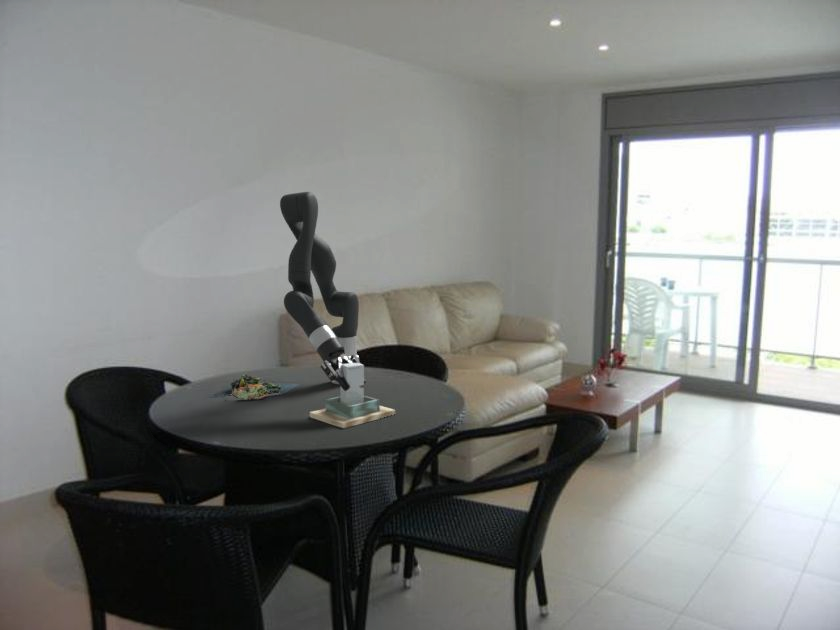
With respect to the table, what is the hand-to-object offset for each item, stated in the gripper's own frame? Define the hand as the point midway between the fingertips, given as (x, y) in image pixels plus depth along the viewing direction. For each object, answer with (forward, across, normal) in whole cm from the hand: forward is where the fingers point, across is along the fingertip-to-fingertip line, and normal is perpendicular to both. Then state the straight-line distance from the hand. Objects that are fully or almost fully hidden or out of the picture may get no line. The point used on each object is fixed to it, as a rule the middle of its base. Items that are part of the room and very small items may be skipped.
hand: (356, 386), depth 198 cm
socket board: (+6, 0, +8) cm, 9 cm away
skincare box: (+3, 0, +5) cm, 6 cm away
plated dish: (-27, +3, +41) cm, 49 cm away
